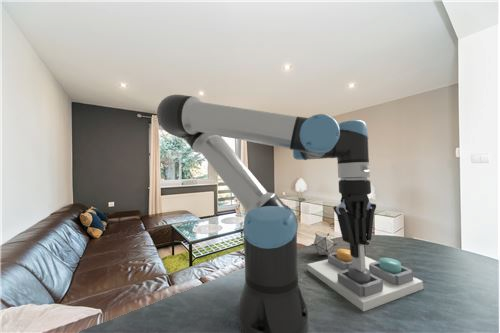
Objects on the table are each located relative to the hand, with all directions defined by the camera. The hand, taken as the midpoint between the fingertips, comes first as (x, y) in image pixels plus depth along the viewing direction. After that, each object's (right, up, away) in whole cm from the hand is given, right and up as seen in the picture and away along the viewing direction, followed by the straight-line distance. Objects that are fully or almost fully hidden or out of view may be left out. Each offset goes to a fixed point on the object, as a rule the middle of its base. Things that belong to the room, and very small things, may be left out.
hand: (358, 268), depth 49 cm
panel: (+4, -7, +6) cm, 10 cm away
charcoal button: (0, -4, 0) cm, 4 cm away
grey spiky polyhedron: (0, -8, +23) cm, 24 cm away
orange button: (+2, -4, +11) cm, 12 cm away
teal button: (+11, -4, +4) cm, 13 cm away
